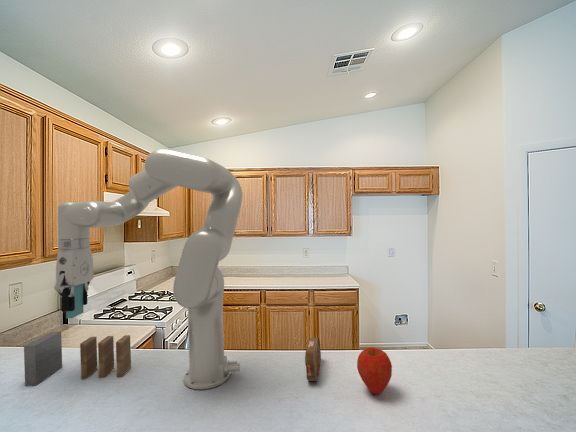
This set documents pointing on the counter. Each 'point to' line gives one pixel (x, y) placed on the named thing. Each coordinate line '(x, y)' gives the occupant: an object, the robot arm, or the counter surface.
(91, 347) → the domino
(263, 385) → the counter surface
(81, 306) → the domino
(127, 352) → the domino
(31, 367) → the block
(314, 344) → the tin
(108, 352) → the domino
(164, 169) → the robot arm
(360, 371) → the apple
